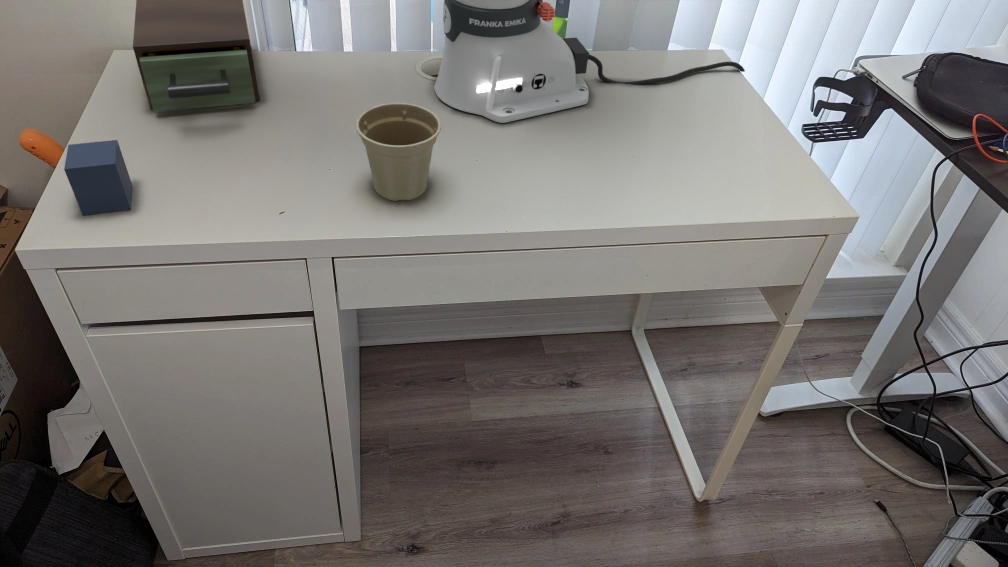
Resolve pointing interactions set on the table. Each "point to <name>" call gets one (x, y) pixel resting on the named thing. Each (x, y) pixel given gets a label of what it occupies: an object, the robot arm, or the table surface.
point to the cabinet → (190, 28)
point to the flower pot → (399, 147)
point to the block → (98, 177)
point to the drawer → (197, 78)
